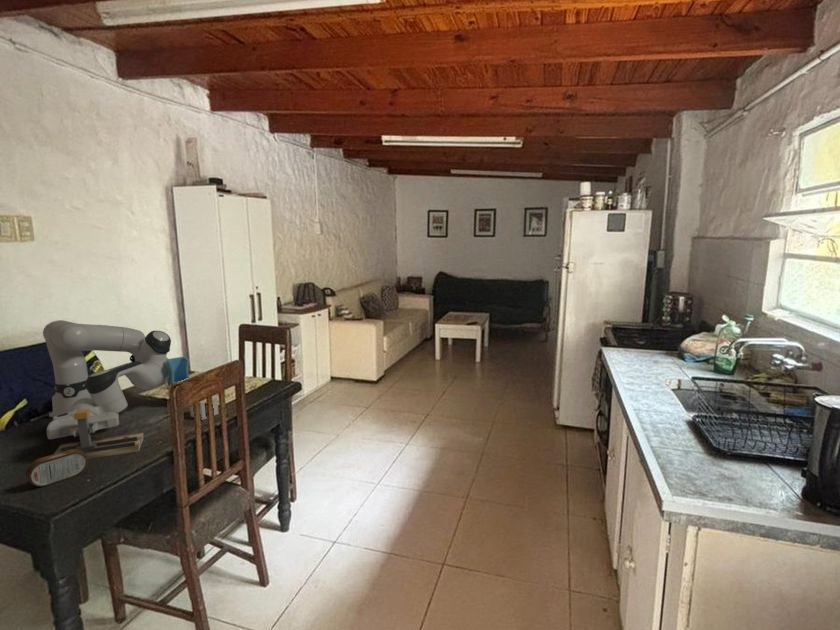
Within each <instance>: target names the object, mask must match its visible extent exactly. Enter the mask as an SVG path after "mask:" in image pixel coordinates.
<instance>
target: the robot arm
mask: <svg viewBox="0 0 840 630" xmlns="http://www.w3.org/2000/svg"><path fill="white" fill-rule="evenodd" d="M42 335H43V339H44V340H45V344H46V347H47V350H48V354H49V357H50V361H51V362H52V367H53V374H54V381H55V382H54V387H53V388H54V391H55V394H54V395H53V396H52V397H51V401H52V403H51V404H52V405H51V406H52V411H51V413H49V414H48V417H49V418H52V421H50V422H49V423H48V425H47V428H46V436H47V439H48V440H55V439H59V438H65V437H68V436H70V437H71V436H73V437H75V438H76V437H80V435H79V428H78V421H77V419H76V420H74V413H75V412H76V411H77V410H83V409H90V415H89V417H88V421H89V433H90V434H95V433H96V431H99V430H105V429H110V428H113V427H118V426H120V420H119V418H120V417H122V415H124V414H125V412H126V411H127V409H128V407H129V404H128V401H127V399H126V397H125V394H124V392H123V391H122V388H121V385H120V384H119V378H120V377H124V376H125V377H126V378H127V379H128V380H129V381H130V383H131V384H132V385H133V386H134V387H135V388H137V389H139V390H143V391H150V390H154V389H155V388H157V387H159V386H160V385H161V384H162V383H164V382H165V381H166V380H168V378H169V367H168V364H167V361H166V360H167V359H169V358H168V357H167V355H168V353H169V352H171V344H172V339H171V337H170V336H169V335H168V334H167V333H166V332H165V331H162V330H151V331H150V332H148V333H147V335H146V336H145V334H144V332H143V331H141V330H138V329H135V328H131V327H127V326H125V327H124V326H114V325H107V324H106V325H105V324H87V323H86V324H85V323H77V322H71V321H68V320H67V321H66V320H55V321H54V320H53V321H51V322H49V323H47V324H46V325H45V326H44V328H43V331H42ZM83 351H84V352H85V351H86V352H87V351H89V352H90V351H91V352H92V351H99V352H101V351H102V352H121V353H123V352H125V353H129V354H131V355H130V357H129V361H130V362H126V363H124V364H121V365H117V366H114V367H111V368H108V369H106V370H99V371H96V372H93V373H92V374H90V375H89V373H88V365H87V364H88V363H87V359H86V357H85V356H84V354H83Z"/></svg>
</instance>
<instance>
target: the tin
mask: <svg viewBox="0 0 840 630" xmlns="http://www.w3.org/2000/svg"><path fill="white" fill-rule="evenodd" d="M88 464H89V459H88V458H87V456H86V455H85V453H84V452H83V451H81V450H78V449H71V450H67V451H64V452H60V453H57V454H54V453H53V454H50V455H47V456H43V457H39V458H37V459H35V460H34V461H33V462H31V463H30V464H29V466H28V467H27V468H26V471H25V478H26V480H27V481H28V482H29V483H30V485H32V486H35V487H38V488H40V487H42V488H43V487H47V486H50V485H52V484H56V483H59V482H63V481H65V480H68V479H71V478H75V477H77V476H79V475H80V474H83V472H84V471H85V470H86V468H87V467H88Z"/></svg>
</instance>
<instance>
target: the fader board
mask: <svg viewBox="0 0 840 630" xmlns="http://www.w3.org/2000/svg"><path fill="white" fill-rule="evenodd" d="M144 434H145V433H144V432H139V433H131V434H123V435H118V436H111V437H105V438H104V437H103V438H97V439H91V443H94V442H96V444H97V447H96V448H90V449H83V450H81V451H83V452H84V453H85V455H86V456H87V458H88V460H91V459H97V458H104V457H110V456H118V455H123V454H124V455H125V454H129V453H135V452H139V451H140V450H141V446H142V443H143V441H144V438H145V435H144ZM80 444H81V442H80V441H77V442H69V443H63V444H60V445H59V447H58V448H56V451H55V452H54V453H53V454H57V453H60V452H64V451H67V450H71V449H76V448H77V447H78V445H80Z"/></svg>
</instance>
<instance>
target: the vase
mask: <svg viewBox="0 0 840 630" xmlns="http://www.w3.org/2000/svg"><path fill="white" fill-rule="evenodd" d="M166 361H167V364H168V367H169V376H168V378H167V385H168V387H169V386H170V384H172V383H175V382H178V381H181V380H184V379H186V378H189V377H190V375H189V364H190V359H189V358H188V357H186V356H179V357H174V358H173V357H172V358H168V359H167V360H166Z"/></svg>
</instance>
